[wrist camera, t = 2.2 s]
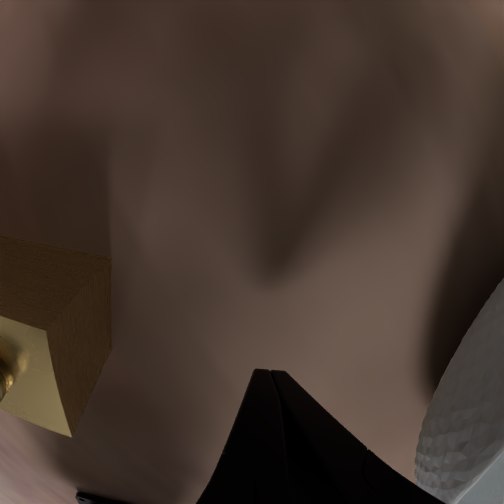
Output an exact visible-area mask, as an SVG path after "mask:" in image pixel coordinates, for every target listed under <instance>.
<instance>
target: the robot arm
mask: <svg viewBox="0 0 504 504" xmlns="http://www.w3.org/2000/svg"><path fill="white" fill-rule="evenodd" d="M76 499H77V501H78V503H79V504H120V503H116V502H112V501H108V500H104V499H100V498H97V497H94V496H90V495H87V494H84V493H80V492H77V493H76ZM196 504H446V503H445V502H443V501H441V500H439V499H438V498H436V497H434V496H433V495H431V494H430V493H428V492H426V491H425V490H423V489H422V488H420V487H418V486H417V485H415V484H414V483H412V482H411V481H409V480H408V479H406V478H405V477H403V476H402V475H401V474H399V473H398V472H396V471H395V470H394V469H392V468H391V467H390V466H389V465H387V464H386V463H385V462H384V461H382V460H381V459H380V458H379V457H378V456H376V455H375V454H374V453H373V452H372V451H371V450H369V449H368V450H367V447H366V446H365V445H364V444H363V443H361V442H360V441H359V440H358V439H357V438H356V437H355V436H354V435H352V434H351V433H350V432H349V431H348V430H347V429H346V428H345V427H344V426H343V425H341V424H340V423H339V422H338V421H337V420H336V419H335V418H334V417H333V416H332V415H331V414H330V413H329V412H327V411H326V410H325V409H324V408H323V407H322V406H321V405H320V404H319V403H318V402H317V401H316V400H315V399H314V398H313V397H312V396H311V395H310V394H308V393H307V392H306V391H305V390H304V389H303V388H302V387H301V386H300V385H299V384H298V383H297V382H296V381H295V380H294V379H293V378H292V377H291V376H290V375H289V374H288V373H287V372H286V371H280V370H271V371H269V370H267V369H254V371H253V373H252V376H251V379H250V382H249V384H248V387H247V390H246V392H245V395H244V398H243V400H242V403H241V406H240V408H239V411H238V414H237V416H236V419H235V421H234V424H233V427H232V429H231V432H230V434H229V437H228V439H227V442H226V444H225V447H224V449H223V452H222V454H221V456H220V459H219V461H218V464H217V466H216V468H215V471H214V473H213V475H212V477H211V479H210V481H209V483H208V485H207V486H206V488H205V490H204V491H203V493H202V495H201V496H200V498H199V499H198V501H197V502H196Z"/></svg>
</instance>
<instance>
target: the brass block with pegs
mask: <svg viewBox="0 0 504 504" xmlns="http://www.w3.org/2000/svg"><path fill="white" fill-rule="evenodd" d="M111 260H112V258H109V257H103V256H98V255H93V254H87V253H82V252H76V251H71V250H66V249H61V248H56V247H51V246H46V245H41V244H36V243H31V242H26V241H21V240H16V239H11V238H7V237H2V236H0V409H2V410H4V411H6V412H8V413H10V414H12V415H15V416H17V417H19V418H21V419H24V420H26V421H29V422H31V423H33V424H36V425H38V426H41V427H44V428H46V429H49V430H52V431H54V432H57V433H60V434H63V435H66V436H69V437H73V435H74V432H75V430H76V427H77V425H78V423H79V420H80V418H81V415H82V413H83V411H84V408H85V406H86V404H87V402H88V399H89V397H90V395H91V393H92V390H93V388H94V386H95V384H96V382H97V380H98V377H99V375H100V373H101V371H102V369H103V367H104V365H105V363H106V360H107V358H108V356H109V354H110V352H111V350H112V335H111Z"/></svg>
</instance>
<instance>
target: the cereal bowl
mask: <svg viewBox="0 0 504 504" xmlns="http://www.w3.org/2000/svg"><path fill="white" fill-rule="evenodd" d="M414 474H415V477H416V485H417V486H418V487H420V488H422V489H423V490H425V491H426V492H428V493H430V494H431V495H433V496H434V497H436V498H438V499H439V500H441V501H443V502H445V503H446V504H503V503H504V278H503V279H502V281H501V282H500V283H499V284H498V285H497V287H496V289H495V291H494V292H493V293H492V294H491V296H490V298H489V299H488V300H487V301H486V303H485V305H484V307H483V308H482V309H481V310H480V312H479V314H478V316H477V317H476V319H475V320H474V321H473V323H472V325H471V326H470V328H469V329H468V330H467V333H466V334H465V336H464V337H463V338H462V341H461V343H460V345H459V346H458V348H457V350H456V352H455V354H454V356H453V357H452V359H451V360H450V363H449V365H448V366H447V368H446V371H445V372H444V374H443V376H442V378H441V380H440V382H439V385H438V387H437V389H436V390H435V392H434V393H433V397H432V400H431V403H430V405H429V407H428V409H427V413H426V416H425V418H424V420H423V423H422V430H421V432H420V435H419V441H418V445H417V448H416V458H415V473H414Z"/></svg>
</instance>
